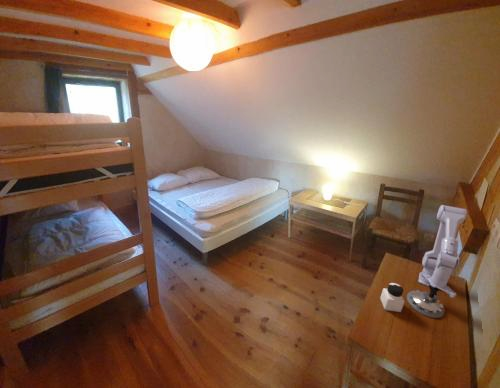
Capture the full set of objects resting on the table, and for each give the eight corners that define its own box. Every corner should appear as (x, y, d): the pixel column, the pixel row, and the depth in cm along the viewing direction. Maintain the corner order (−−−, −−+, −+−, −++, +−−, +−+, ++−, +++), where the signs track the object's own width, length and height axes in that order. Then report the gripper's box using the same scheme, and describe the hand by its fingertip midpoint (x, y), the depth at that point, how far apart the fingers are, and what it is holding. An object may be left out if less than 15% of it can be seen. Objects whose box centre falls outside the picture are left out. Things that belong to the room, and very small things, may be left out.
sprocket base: (408, 287, 122) (409, 285, 121) (444, 302, 113) (445, 300, 112) (404, 306, 111) (404, 304, 110) (443, 324, 102) (444, 322, 102)
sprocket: (430, 292, 117) (433, 284, 115) (449, 314, 105) (452, 306, 103) (404, 291, 118) (406, 283, 116) (419, 313, 106) (423, 305, 104)
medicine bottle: (401, 312, 108) (407, 293, 103) (384, 310, 109) (390, 291, 104) (395, 300, 114) (401, 282, 109) (379, 298, 116) (385, 280, 111)
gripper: (419, 267, 111) (411, 288, 117) (452, 289, 99) (442, 311, 104) (429, 264, 113) (421, 284, 119) (463, 284, 101) (452, 306, 107)
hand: (431, 296), depth 112 cm, fingers closed, pressing on sprocket
